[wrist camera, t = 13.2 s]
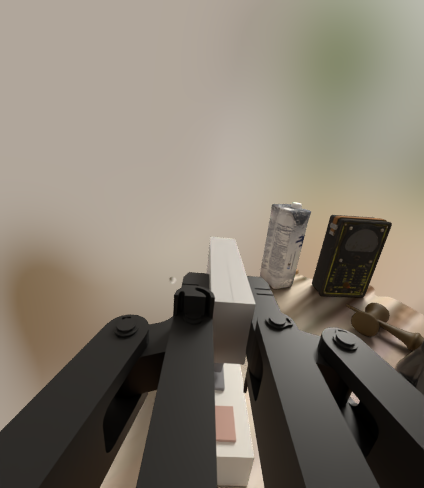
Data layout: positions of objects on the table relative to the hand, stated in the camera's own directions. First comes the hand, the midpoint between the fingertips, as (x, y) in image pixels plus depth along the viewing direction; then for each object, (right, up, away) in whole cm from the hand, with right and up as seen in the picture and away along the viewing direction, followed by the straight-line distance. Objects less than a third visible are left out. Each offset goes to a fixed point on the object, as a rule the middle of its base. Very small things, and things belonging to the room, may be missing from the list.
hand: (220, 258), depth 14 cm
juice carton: (+21, -12, +64) cm, 68 cm away
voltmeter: (+40, -15, +62) cm, 75 cm away
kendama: (+42, -22, +44) cm, 65 cm away
